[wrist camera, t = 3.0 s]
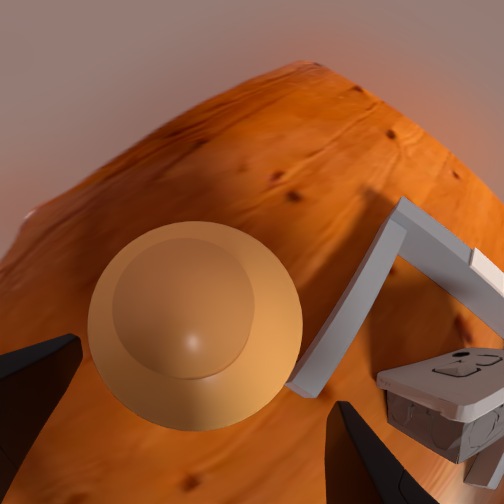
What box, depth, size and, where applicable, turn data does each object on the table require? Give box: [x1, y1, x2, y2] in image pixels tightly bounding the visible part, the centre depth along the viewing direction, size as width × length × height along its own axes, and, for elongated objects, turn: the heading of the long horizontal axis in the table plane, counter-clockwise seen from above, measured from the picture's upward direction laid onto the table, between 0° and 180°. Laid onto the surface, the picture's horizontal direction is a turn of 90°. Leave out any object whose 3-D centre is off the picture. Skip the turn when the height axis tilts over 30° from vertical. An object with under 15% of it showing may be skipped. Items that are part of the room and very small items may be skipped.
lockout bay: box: [284, 196, 504, 490], centre depth 16 cm, size 15×20×4 cm
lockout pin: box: [88, 221, 303, 431], centre depth 11 cm, size 4×4×14 cm
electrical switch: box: [376, 347, 504, 464], centre depth 13 cm, size 9×5×9 cm, turn 94°
